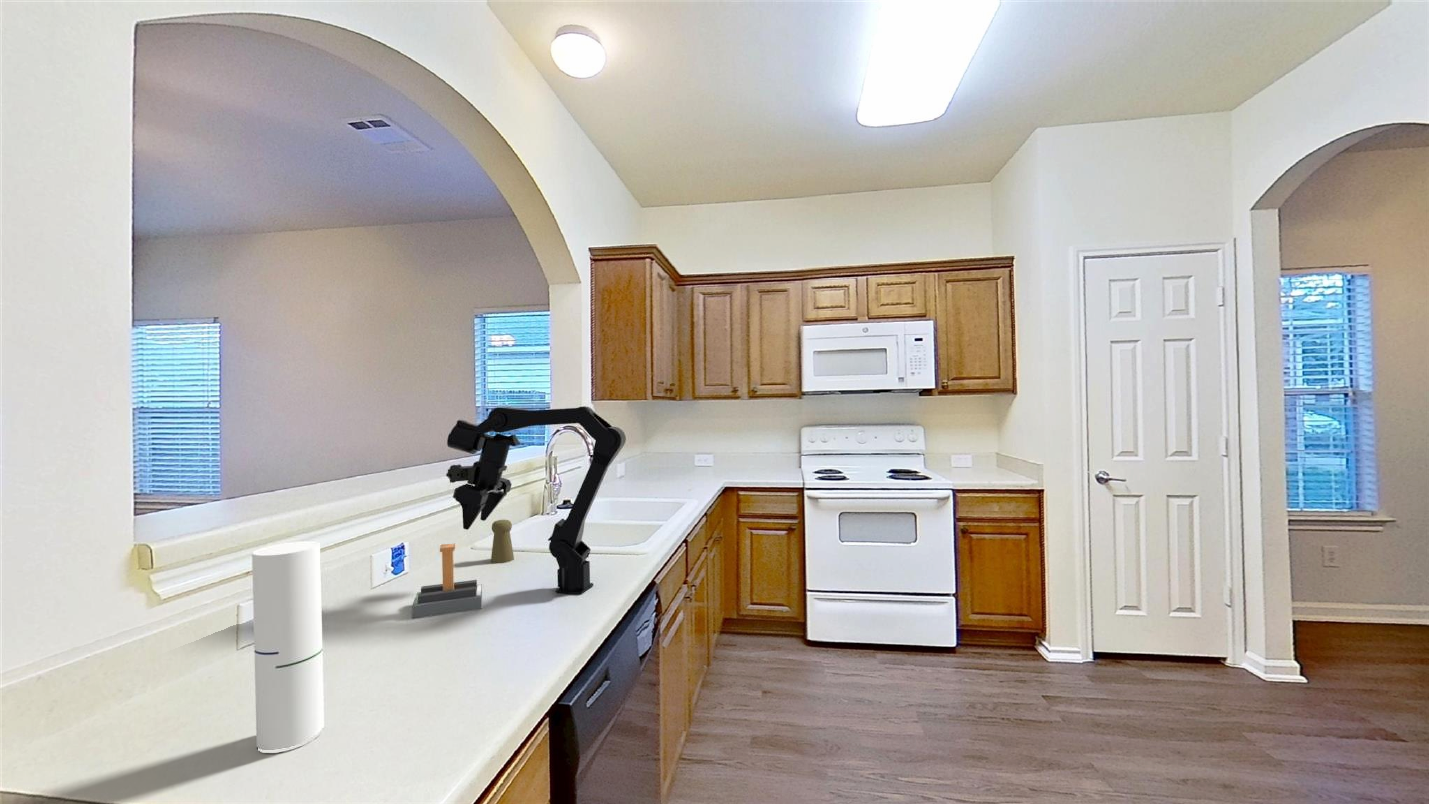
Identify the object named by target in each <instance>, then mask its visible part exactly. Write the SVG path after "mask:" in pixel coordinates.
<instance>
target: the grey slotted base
mask: <svg viewBox="0 0 1429 804" xmlns="http://www.w3.org/2000/svg"><path fill="white" fill-rule="evenodd" d="M482 600H483V584H478V581H477V579H472V580H462V581H457V582H456V581H454V589H453V590H445V591H443V583H437V584H431V585H429V584H428V585H424V586H421V588H420V591H418V592H417V593H416V594H415V597H414V600H413V602H412V605H411V618H412V619H419V618H425V617H426V618H427V617H433V616H440V615H448V614H454V613H455V614H456V613H461V612H468V611H469V610H470V611H477V610H481V609H482V603H483V601H482Z"/></svg>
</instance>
